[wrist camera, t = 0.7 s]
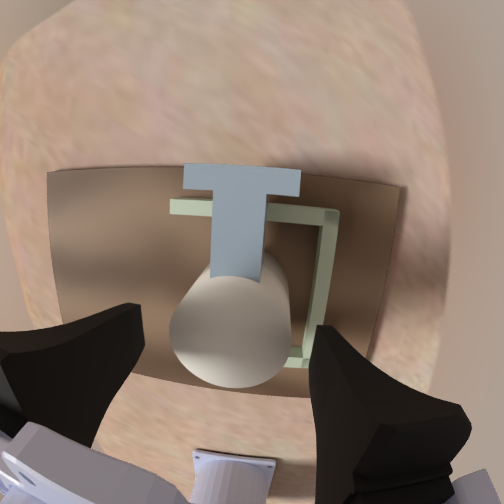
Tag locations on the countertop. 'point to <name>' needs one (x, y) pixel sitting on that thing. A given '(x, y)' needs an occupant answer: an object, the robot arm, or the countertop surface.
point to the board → (198, 257)
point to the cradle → (323, 262)
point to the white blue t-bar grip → (236, 281)
